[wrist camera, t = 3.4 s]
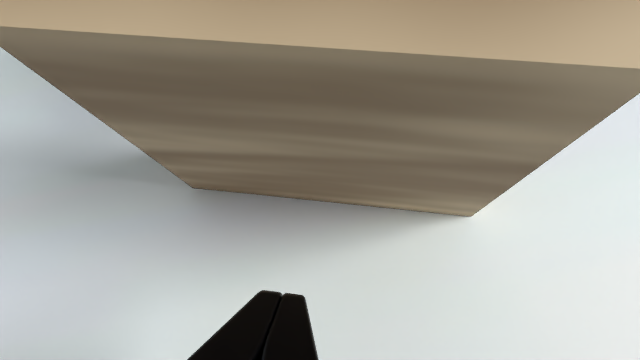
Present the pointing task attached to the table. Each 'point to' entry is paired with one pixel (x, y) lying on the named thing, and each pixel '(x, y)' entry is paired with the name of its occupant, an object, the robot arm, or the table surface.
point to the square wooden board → (340, 88)
